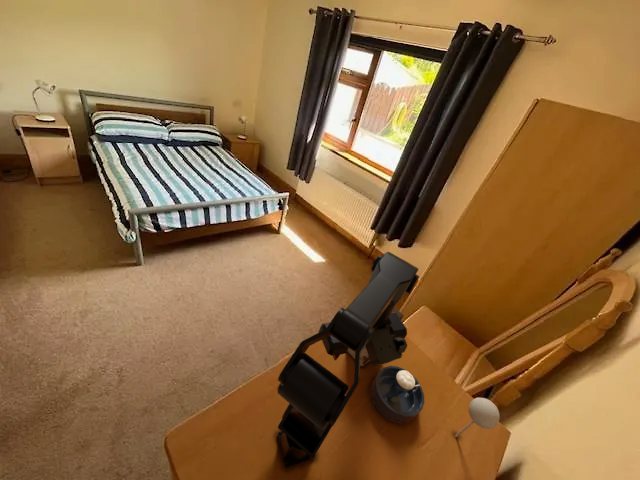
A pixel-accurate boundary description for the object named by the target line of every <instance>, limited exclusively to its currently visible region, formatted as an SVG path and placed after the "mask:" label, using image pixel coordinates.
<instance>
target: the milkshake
mask: <svg viewBox="0 0 640 480" xmlns="http://www.w3.org/2000/svg"><path fill="white" fill-rule="evenodd" d="M410 373H411V372H409V371H408V370H407V369H405V370H401V371H399V372H398V373H397V375H396V377H395V379H394V381H393V382H392V384H391V386H390V388H389V390H388V392H387V397H388V399H389V400H390V401H391V402H395V403H396V402H398V401H399V400H400V399H401V398H402V397H403V396H404V395H405V394H406V393H408V392H409V391H410V390H411V389H412V388H413V387H415V386H419V385H421V386H422V383H419V384H418V385H415V379H414V377H415V376H414V375H413V374H412V373H411V374H412V375H413V376H414V377H413V376H412V375H411V374H410Z"/></svg>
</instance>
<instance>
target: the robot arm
mask: <svg viewBox="0 0 640 480" xmlns="http://www.w3.org/2000/svg"><path fill="white" fill-rule="evenodd" d="M370 269H371V272H372V273H371V276H370V278H369V279H368V284H366V286H365V287H364V288H363V289H362V290H361V292H360V293H359V294H357V296H356V297H354V299H353V300H352V301H351V302H350V303H349V304H348V306H347V307H346V308H344V307H341V308H340V309H338V311H337V312H336V313H335V315H334V316H333V317H332V319H331V321H330V322H324V323H321V325H320V327H319V329H318V332H317V333H315V334H313V335H311V336H310V337H308V338H305V339H304V340H302V341H301V342H300V343H299V344H298V346H297V348H296V349H295V351H294V352H293V353H292V355H291V356H290V357H289V359H288V361H287V362H286V363H285V365H284V367H283V368H282V370H281V372H279V373H280V374H279V376H278V378H277V381H278V382H279V384H278V386H277V394H278V395H279V396H280V397H281V398H282V399H284V400H285V401H286V402H287V403H288V406H286V409H285V411H284V412H283V414H282V416H281V420H280V422H279V423H278V426H277V429H278V430H279V431H278V432H277V434H276V435H277V440H278V444H279V448H280V453H281V457H282V462H283V466H284V468H286V469H289V468H292V467H293V466H297V465H299V464H302V463H305V462H308V461H311V460H313V459H315V458H316V454H317V453H318V451H319V449H320V447H321V446H322V444H323V443H324V441H325V439H326V438H327V436H328V435H329V433H330V431H331V429H333V427H334V426H335V424H336V423H337V421H338V419H339V417H340V415H341V414H342V413H343V411H344V409H345V408H346V406H347V404H348V402H349V401H350V399H351V397H352V395H353V394H354V392H355V390H356V389H357V387H358V385H359V383H360V374H361V373H360V371H361V370H360V369H361V366H360V353H361V351H362V350H363V348H364V347H365V346H366V349H367V352H368V356H369V363H370V364H371V366H373V367H378V366H380V365H384V364H389V363H390V362H393V361H396V360H399V359H402V357H403V353H405V352H406V350H407V349H408V348H407V347H408V343H407V341H406V339H405V338H406V337H407V335H408V329H407V327H406V325H405V324H404V323H403V321H402V319H401V320H400V318H399V317H398V315H397V314H396V312H393V310H394V308H396V306H397V304H398V303H399V302H400V301H401V300H402V298H403V296H404V295H405V293H407V294H411V292H412V290H413V288H414V287H415V285H416V283H417V281H418V280H419V279H420V275H418V274H417V273H418V271H419V268H418V267H417V266H415V265H413V264H412V263H410V262H408V261H406V260H405V259H403V258H401V257H399V256H397V255H396V254H394V253H393V252H390V251H386V252H385V253H384V254H380V255H378V256H376V257H375V258H373V260H372V262H371V268H370ZM320 341H321V342H322V344H323V347H324V349H325V351H326V353H327V355H329V356H331V357H332V358H333V360H334V361H337V360H338V359H339V357H340V356H341V355H345V354H347V352H348V351H347V350H348V348H350V349H351V350H353V351H356V352H355V359H354V375H353V378H354V379H353V383H352V385H351V387H350V388H349V385H348V384H347V383H346V382H345V381H343V380H342V379H341V378H339V377H338V376H337V375H335V374H334V373H333V372H331V371H330V370H328V369H327V368H326V367H325V366H323V365H322V364H321V363H320V362H318V361H317V360H315V359H314V358H313V357H311V355H309V354H307V353H306V352H307V350H308V349H309V347H310V346H312V345H313V346H314V345H315V344H317V343H318V342H320Z"/></svg>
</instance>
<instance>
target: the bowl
mask: <svg viewBox="0 0 640 480" xmlns="http://www.w3.org/2000/svg"><path fill="white" fill-rule="evenodd" d="M401 370H406V368H403V367H400V366H398V365H388V366H385V367H382V369H380V370H379V371H378V373H377V374H376V376H375V377H374V379H373V381H372V383H371V385H370V396H371V400H372V402H373V404H374V407H375V408H376V410H377V411H378V412H379V414H380V415H381V416H383V417H384V418H385V419H386V420H388V421H390V422H393V423H395V424H402V425H403V424H404V425H405V424H407V423H410V422H412V421H413V420H414V419H415V418H416V416H418V415H419V414H420V413H421V412H422V410H423V407H424V405H425V393H424V390H423V387H422V384H421V385H419V386H415V387H413V388H412V389H411V390H410V391H409V392H408V393H406V394H405V395H404V396H403V397H402V398H401V399H400V400H399V401H398V402H396V403H395V402H391V401H390V400H389V399H388V397H387V392H388V390H389V388H390V386H391V384H392V382H393V381H394V379H395V377H396V375H397V373H398V372H399V371H401ZM409 373H410V374H411V375H412V376H413V377H414V379H415V385H418V384H420V382H419V381H418V379H417V378H416V377H415V376H414V375H413V374H412V373H411V372H409Z"/></svg>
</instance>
